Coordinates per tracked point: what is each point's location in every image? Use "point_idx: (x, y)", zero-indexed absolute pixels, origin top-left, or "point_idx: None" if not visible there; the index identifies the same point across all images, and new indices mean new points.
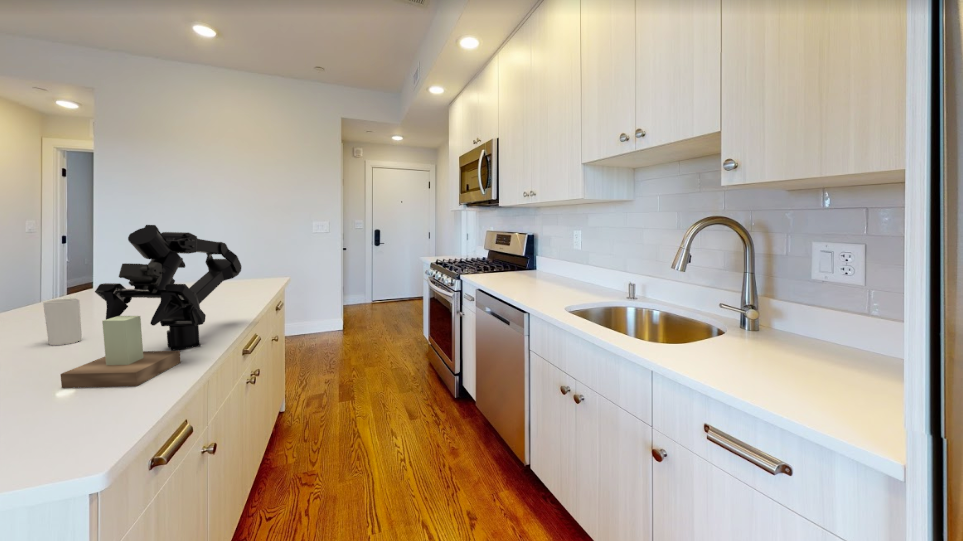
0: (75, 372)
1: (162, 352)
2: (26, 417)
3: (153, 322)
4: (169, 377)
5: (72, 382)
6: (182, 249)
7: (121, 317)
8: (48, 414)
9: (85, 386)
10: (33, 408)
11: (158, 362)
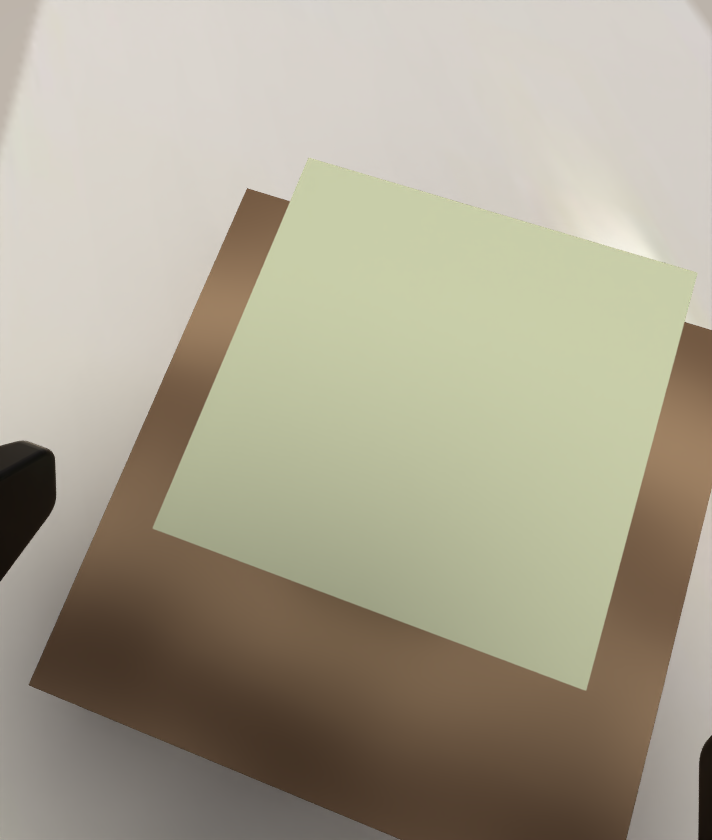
0: None
1: (169, 687)
2: (627, 5)
3: (3, 455)
4: (114, 333)
5: None
6: None
7: (465, 473)
8: (548, 6)
9: None
10: (663, 102)
11: (156, 401)
